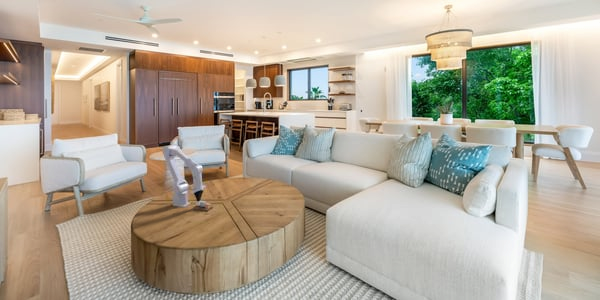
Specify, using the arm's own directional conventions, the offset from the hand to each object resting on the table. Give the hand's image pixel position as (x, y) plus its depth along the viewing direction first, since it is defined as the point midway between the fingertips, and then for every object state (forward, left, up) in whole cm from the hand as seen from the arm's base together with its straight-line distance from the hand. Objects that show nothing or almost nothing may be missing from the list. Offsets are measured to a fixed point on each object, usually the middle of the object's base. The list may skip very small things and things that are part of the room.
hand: (198, 200), depth 207 cm
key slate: (+4, 0, -3) cm, 5 cm away
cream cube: (0, 0, -3) cm, 3 cm away
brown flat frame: (+4, 0, -5) cm, 6 cm away
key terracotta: (+7, 0, -4) cm, 8 cm away
